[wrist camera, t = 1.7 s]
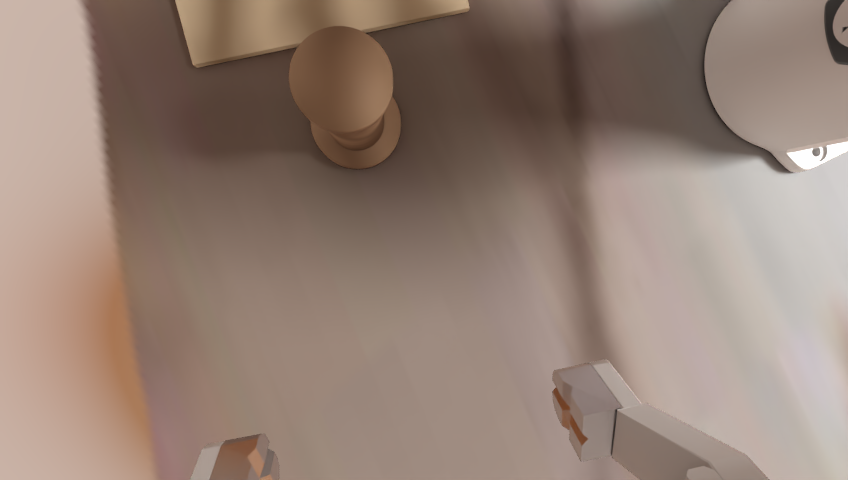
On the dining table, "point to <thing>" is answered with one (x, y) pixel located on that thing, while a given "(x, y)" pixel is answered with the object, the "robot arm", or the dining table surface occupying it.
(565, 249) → the dining table surface
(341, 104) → the flanged spool
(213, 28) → the peg rack
